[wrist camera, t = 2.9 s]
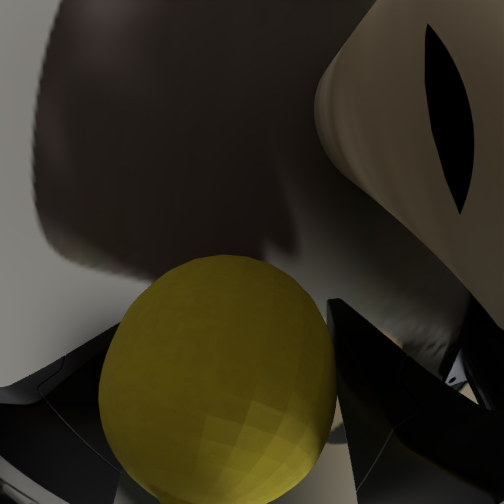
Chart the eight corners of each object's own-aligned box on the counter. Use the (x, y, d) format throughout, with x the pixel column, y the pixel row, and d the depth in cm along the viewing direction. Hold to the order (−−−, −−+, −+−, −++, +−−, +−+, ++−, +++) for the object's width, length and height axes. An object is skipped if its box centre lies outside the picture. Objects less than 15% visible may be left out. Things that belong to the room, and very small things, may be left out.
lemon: (151, 231, 9) (-14, 408, 2) (310, 203, 9) (388, 491, 1) (195, 349, 12) (136, 518, 4) (324, 338, 11) (341, 538, 3)
